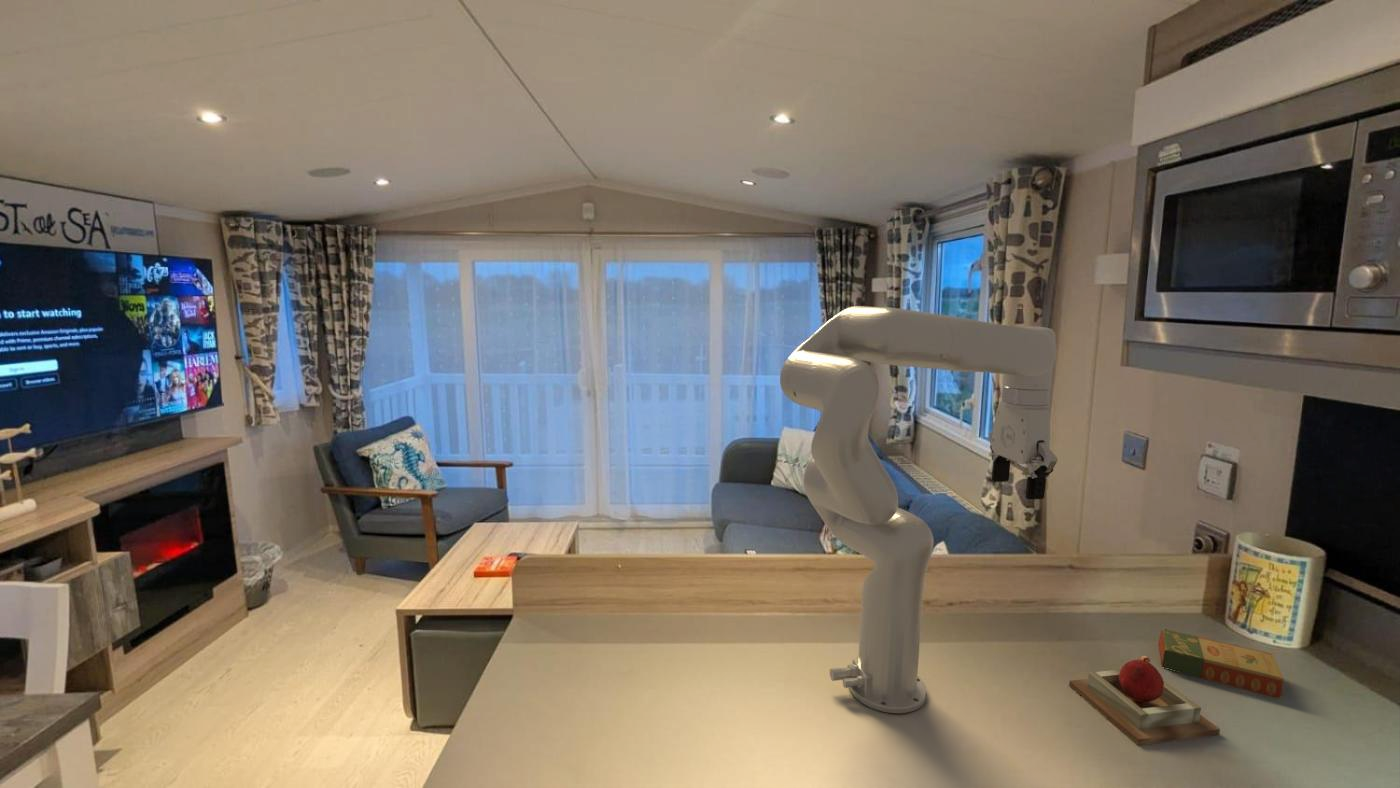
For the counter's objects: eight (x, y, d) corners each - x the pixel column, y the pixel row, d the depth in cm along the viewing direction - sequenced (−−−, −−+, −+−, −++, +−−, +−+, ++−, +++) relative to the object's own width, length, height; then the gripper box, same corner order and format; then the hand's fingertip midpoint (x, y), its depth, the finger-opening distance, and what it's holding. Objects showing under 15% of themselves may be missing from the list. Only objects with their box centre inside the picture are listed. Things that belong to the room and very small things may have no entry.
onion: (1147, 718, 98) (1154, 672, 96) (1108, 697, 102) (1114, 652, 101) (1167, 706, 100) (1174, 661, 99) (1129, 686, 105) (1135, 642, 104)
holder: (1137, 745, 93) (1140, 724, 93) (1069, 686, 107) (1071, 667, 106) (1219, 734, 95) (1222, 714, 95) (1141, 677, 109) (1144, 659, 108)
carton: (1280, 701, 104) (1285, 677, 103) (1160, 669, 112) (1163, 647, 111) (1269, 674, 111) (1273, 652, 110) (1157, 646, 119) (1160, 625, 118)
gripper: (977, 389, 119) (970, 476, 122) (1039, 407, 102) (1029, 507, 105) (1013, 388, 120) (1005, 474, 123) (1080, 405, 104) (1069, 505, 107)
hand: (1016, 489), depth 114 cm, fingers open, 9 cm apart
